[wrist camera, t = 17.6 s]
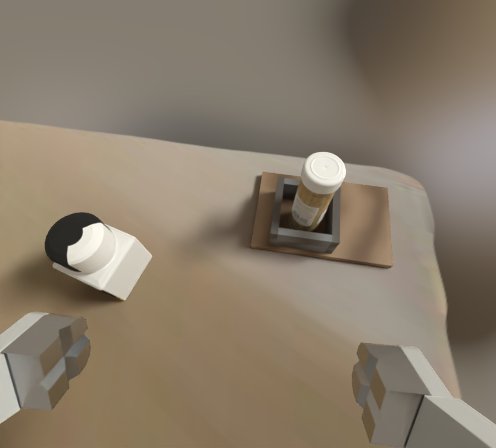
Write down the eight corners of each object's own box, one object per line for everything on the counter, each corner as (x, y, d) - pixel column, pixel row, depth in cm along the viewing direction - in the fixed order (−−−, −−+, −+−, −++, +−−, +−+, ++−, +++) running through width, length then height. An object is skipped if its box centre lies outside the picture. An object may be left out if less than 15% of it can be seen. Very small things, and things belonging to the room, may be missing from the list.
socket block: (250, 247, 41) (250, 233, 37) (262, 175, 47) (263, 155, 42) (389, 268, 40) (407, 256, 35) (384, 191, 45) (399, 172, 41)
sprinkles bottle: (324, 228, 41) (355, 174, 29) (297, 241, 40) (319, 191, 28) (307, 204, 43) (330, 144, 31) (281, 216, 42) (295, 159, 30)
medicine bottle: (82, 281, 39) (18, 251, 28) (112, 238, 42) (65, 195, 31) (125, 302, 38) (76, 279, 27) (153, 256, 41) (119, 218, 30)
